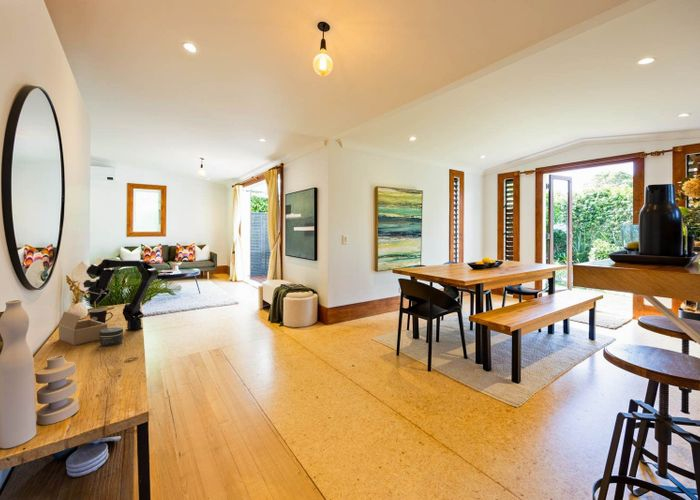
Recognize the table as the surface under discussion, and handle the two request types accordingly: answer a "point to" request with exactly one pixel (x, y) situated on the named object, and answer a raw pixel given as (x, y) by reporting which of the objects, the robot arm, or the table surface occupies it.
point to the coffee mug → (99, 315)
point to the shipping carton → (81, 332)
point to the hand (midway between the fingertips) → (93, 304)
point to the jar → (111, 336)
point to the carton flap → (69, 320)
